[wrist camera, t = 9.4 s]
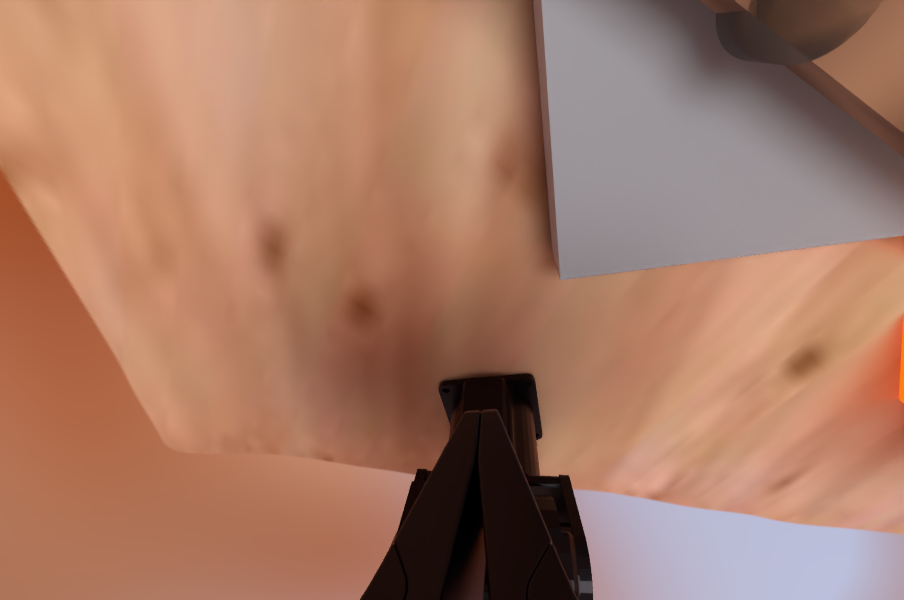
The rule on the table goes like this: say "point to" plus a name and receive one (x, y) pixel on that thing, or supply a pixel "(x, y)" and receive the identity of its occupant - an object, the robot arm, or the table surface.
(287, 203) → the table surface
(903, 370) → the orange juice
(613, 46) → the board
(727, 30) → the lever
